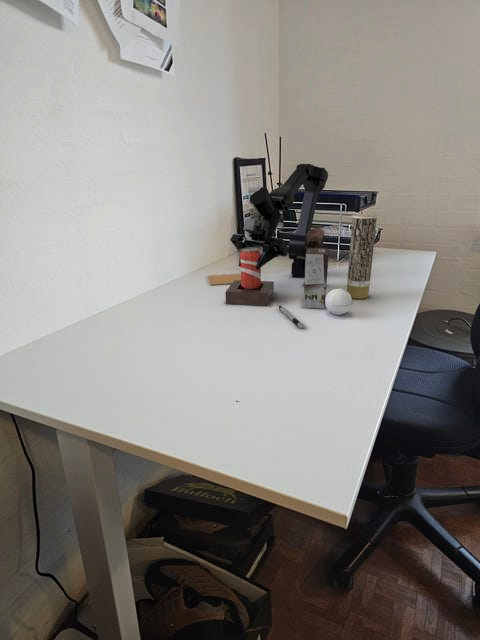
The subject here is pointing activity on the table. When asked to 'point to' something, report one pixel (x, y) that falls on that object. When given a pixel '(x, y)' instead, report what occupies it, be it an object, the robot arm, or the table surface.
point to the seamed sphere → (338, 301)
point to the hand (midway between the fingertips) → (247, 267)
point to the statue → (315, 239)
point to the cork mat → (223, 279)
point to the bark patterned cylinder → (361, 255)
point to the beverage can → (250, 268)
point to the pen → (291, 317)
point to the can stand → (250, 294)
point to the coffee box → (315, 277)
